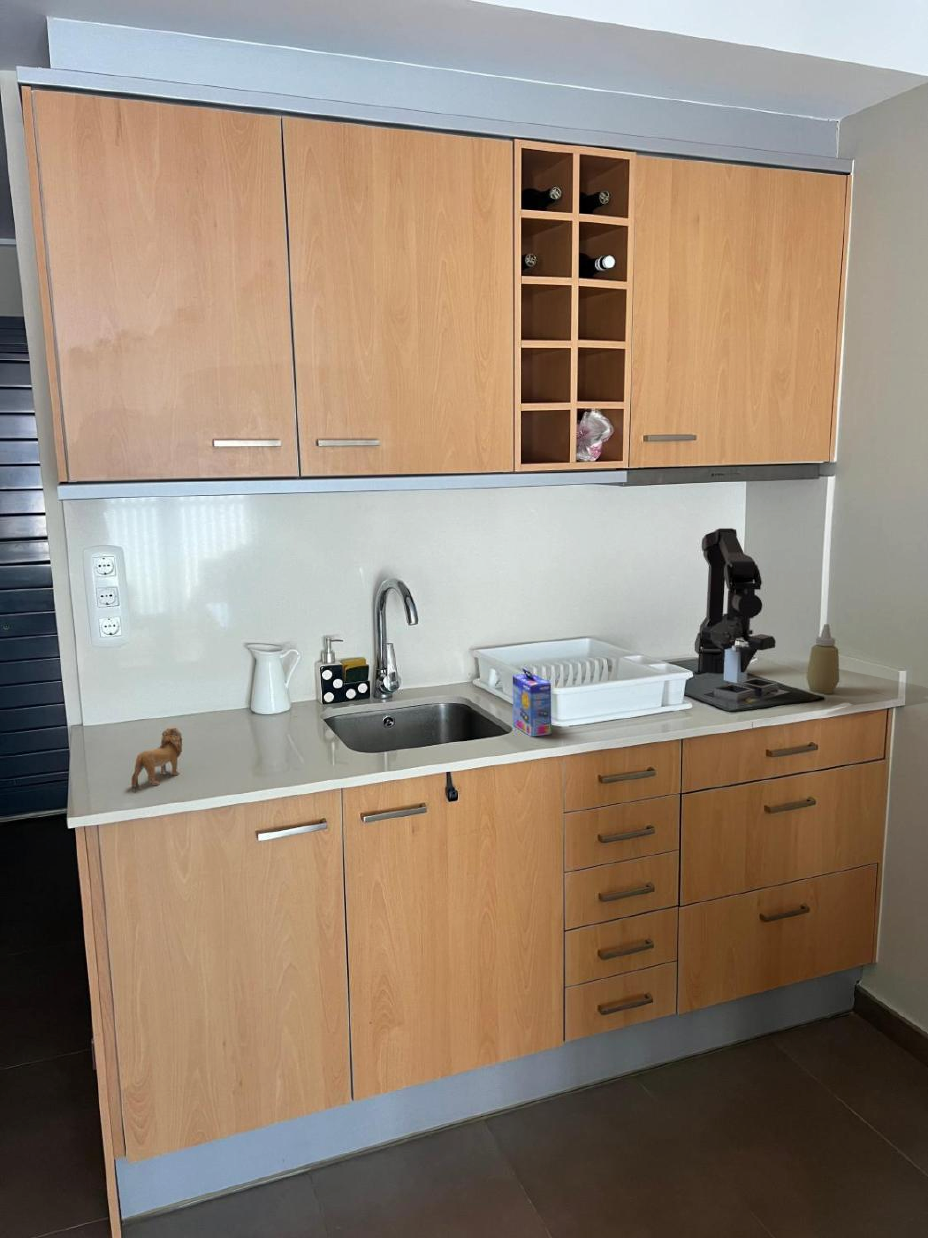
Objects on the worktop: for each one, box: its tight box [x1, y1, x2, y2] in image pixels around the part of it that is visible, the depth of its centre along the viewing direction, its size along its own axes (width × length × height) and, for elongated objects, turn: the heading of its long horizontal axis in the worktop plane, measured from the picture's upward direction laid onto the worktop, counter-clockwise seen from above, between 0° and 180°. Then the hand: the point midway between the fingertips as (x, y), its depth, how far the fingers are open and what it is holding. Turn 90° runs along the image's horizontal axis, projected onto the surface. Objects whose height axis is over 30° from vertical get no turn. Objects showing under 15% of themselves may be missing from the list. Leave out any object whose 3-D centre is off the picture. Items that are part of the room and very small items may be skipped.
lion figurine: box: [131, 727, 183, 791], centre depth 185 cm, size 15×5×9 cm, turn 165°
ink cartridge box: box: [512, 667, 552, 738], centre depth 215 cm, size 10×6×14 cm, turn 23°
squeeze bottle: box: [806, 623, 840, 695], centre depth 246 cm, size 8×8×18 cm
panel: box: [702, 677, 789, 706], centre depth 242 cm, size 12×20×3 cm, turn 127°
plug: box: [723, 644, 748, 684], centre depth 238 cm, size 4×4×9 cm
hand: (735, 670), depth 238 cm, fingers closed on plug, 4 cm apart
